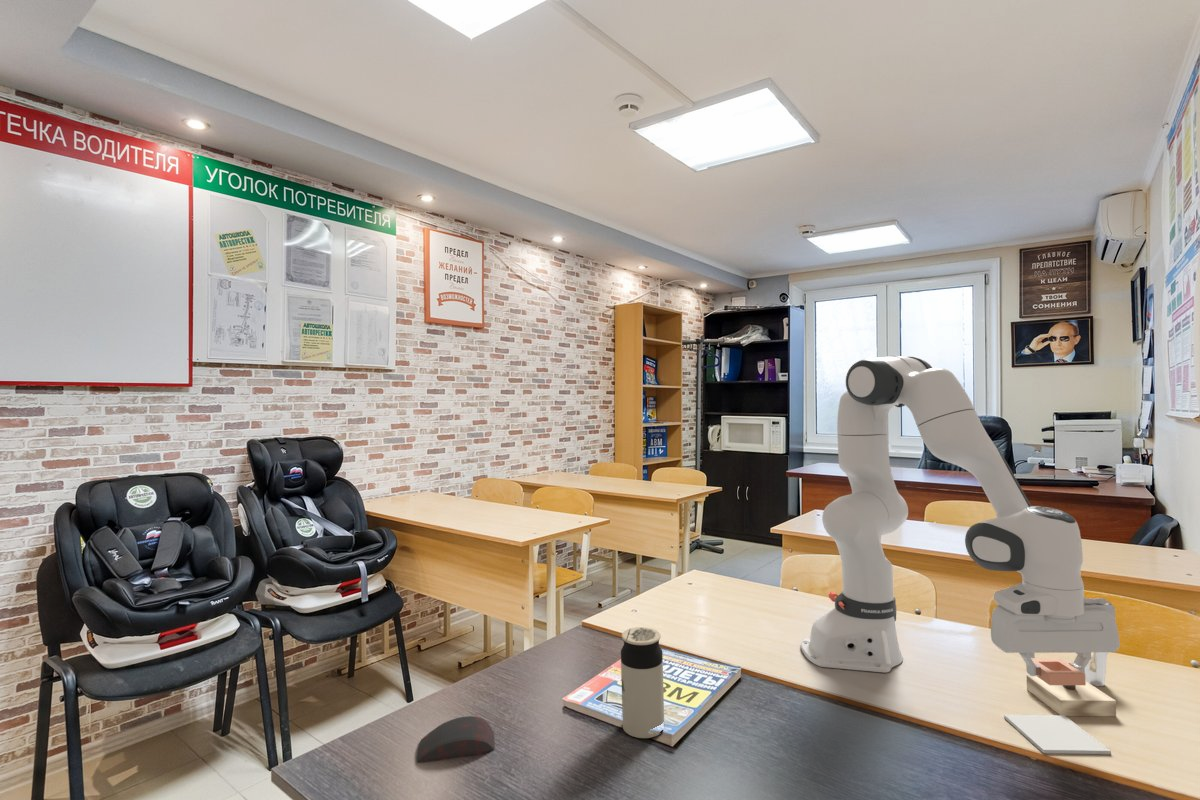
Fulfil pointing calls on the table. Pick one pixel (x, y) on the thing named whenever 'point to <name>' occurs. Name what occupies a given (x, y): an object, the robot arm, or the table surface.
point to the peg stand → (1072, 698)
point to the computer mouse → (457, 740)
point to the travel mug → (642, 681)
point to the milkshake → (1096, 669)
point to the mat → (1056, 734)
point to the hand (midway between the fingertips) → (1055, 674)
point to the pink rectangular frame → (1059, 672)
